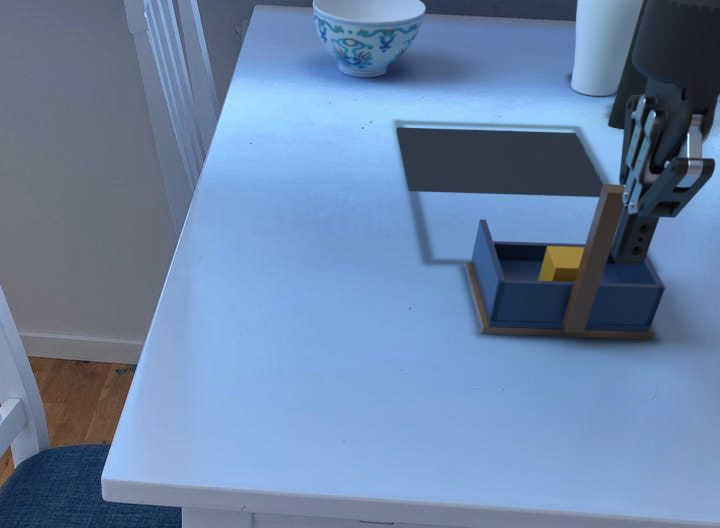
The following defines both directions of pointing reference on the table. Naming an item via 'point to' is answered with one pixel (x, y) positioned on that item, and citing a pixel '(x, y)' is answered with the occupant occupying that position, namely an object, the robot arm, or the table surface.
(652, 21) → the robot arm
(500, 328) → the stand
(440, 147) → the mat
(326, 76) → the table surface
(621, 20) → the cup
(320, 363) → the table surface
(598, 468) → the table surface
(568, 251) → the block
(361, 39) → the chinaware
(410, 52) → the table surface
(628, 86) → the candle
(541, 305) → the tray
